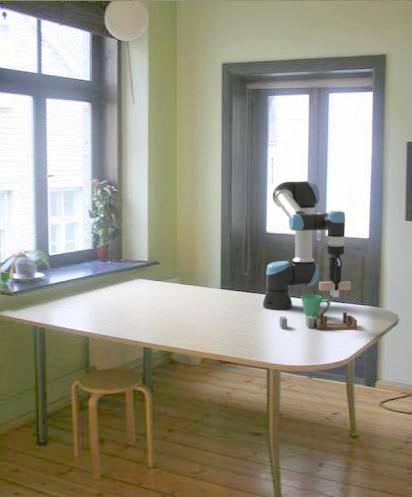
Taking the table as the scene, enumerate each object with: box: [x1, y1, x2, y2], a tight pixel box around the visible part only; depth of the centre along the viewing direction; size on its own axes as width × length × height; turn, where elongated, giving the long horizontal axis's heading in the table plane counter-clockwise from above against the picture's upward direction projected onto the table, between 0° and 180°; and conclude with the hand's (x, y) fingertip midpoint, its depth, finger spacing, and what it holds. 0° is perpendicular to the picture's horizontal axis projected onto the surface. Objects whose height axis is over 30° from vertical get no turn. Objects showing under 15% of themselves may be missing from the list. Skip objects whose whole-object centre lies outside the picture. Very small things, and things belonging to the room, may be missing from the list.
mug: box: [301, 294, 331, 318], centre depth 351 cm, size 15×10×10 cm
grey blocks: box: [279, 315, 315, 330], centre depth 332 cm, size 5×15×4 cm, turn 96°
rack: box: [314, 311, 358, 331], centre depth 332 cm, size 9×18×6 cm, turn 96°
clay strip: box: [318, 280, 352, 292], centre depth 329 cm, size 3×14×4 cm, turn 95°
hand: (334, 296), depth 330 cm, fingers closed on clay strip, 3 cm apart
